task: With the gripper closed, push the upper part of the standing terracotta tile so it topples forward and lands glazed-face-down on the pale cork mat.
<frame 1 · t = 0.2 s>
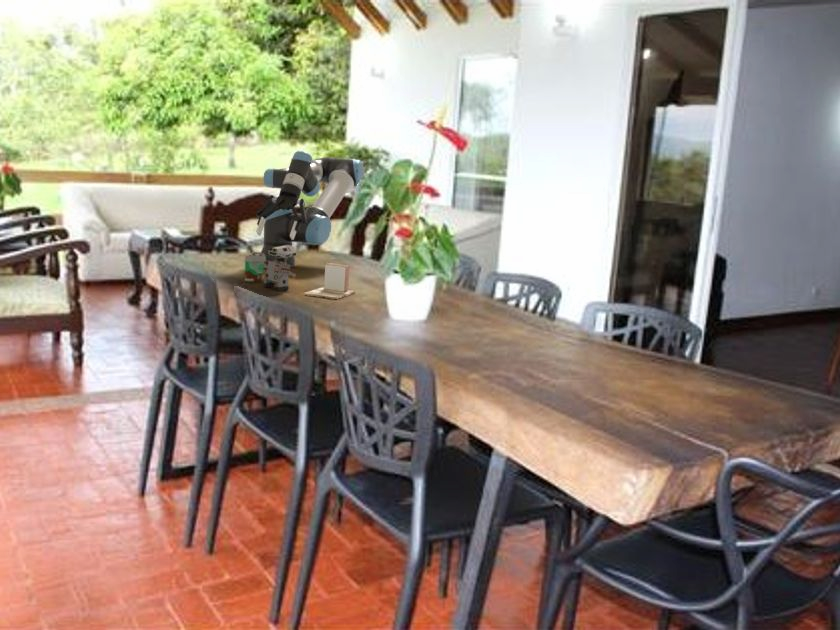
hand: (274, 235, 311), 16 cm above the table, tool tilted 35°, fingers open, 13 cm apart
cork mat: (329, 294, 291), on the table
figurine: (280, 288, 294), on the table
tile: (335, 290, 295), point 1 cm above the table, touching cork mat
food container: (256, 282, 304), on the table
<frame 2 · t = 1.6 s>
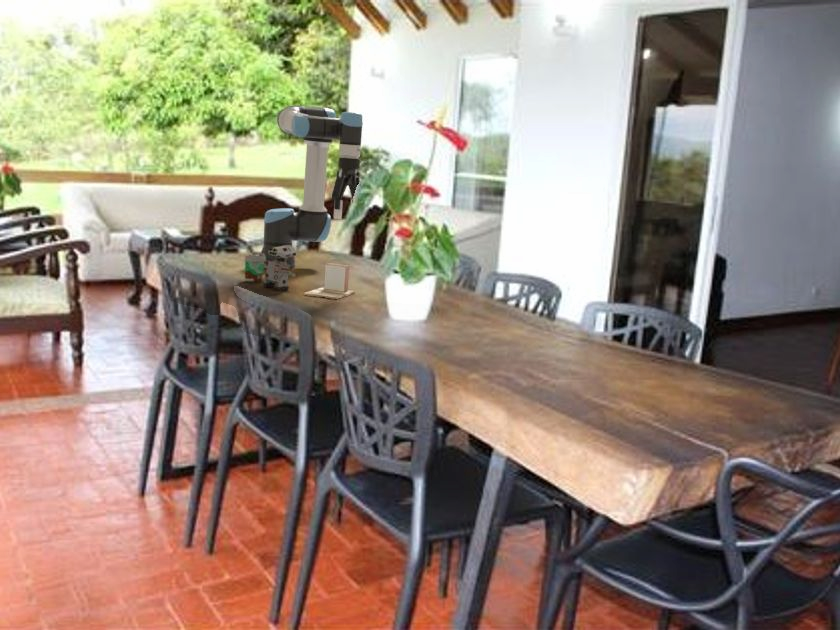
hand: (345, 218, 298), 26 cm above the table, tool pointing down, fingers open, 13 cm apart
nothing on the table moved.
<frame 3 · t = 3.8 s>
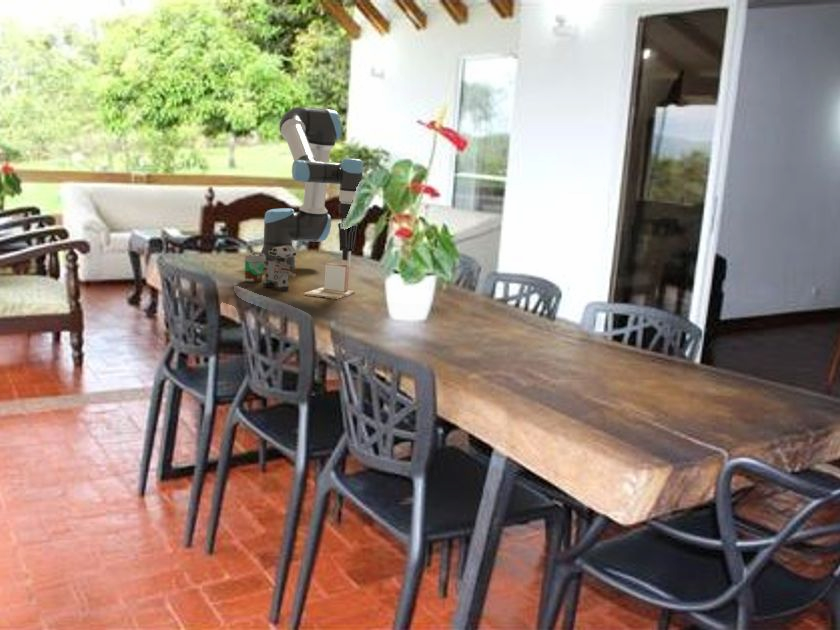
hand: (345, 268, 301), 8 cm above the table, tool pointing down, fingers closed
nothing on the table moved.
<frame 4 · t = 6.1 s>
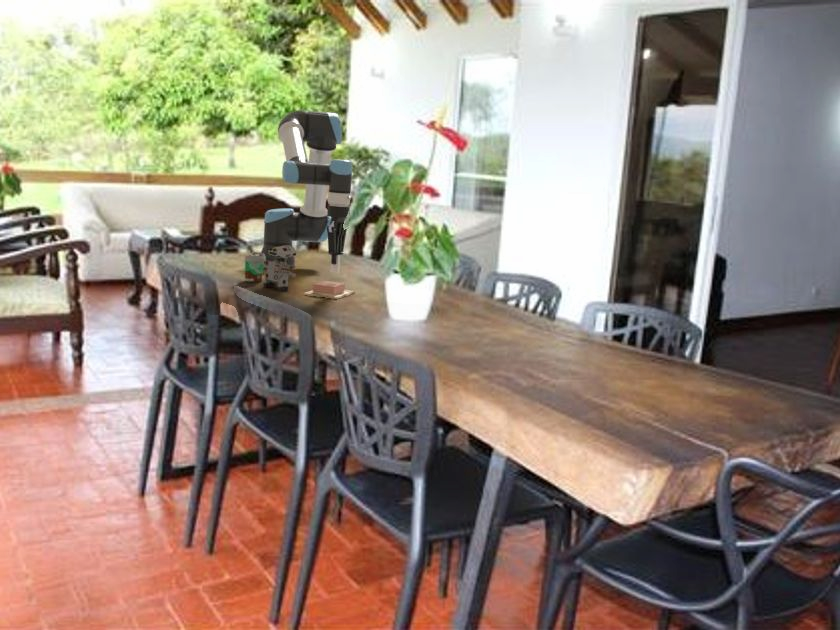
hand: (334, 273, 292), 7 cm above the table, tool pointing down, fingers closed
tile: (334, 286, 294), point 2 cm above the table, tilted 90°, touching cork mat
everything else where it was.
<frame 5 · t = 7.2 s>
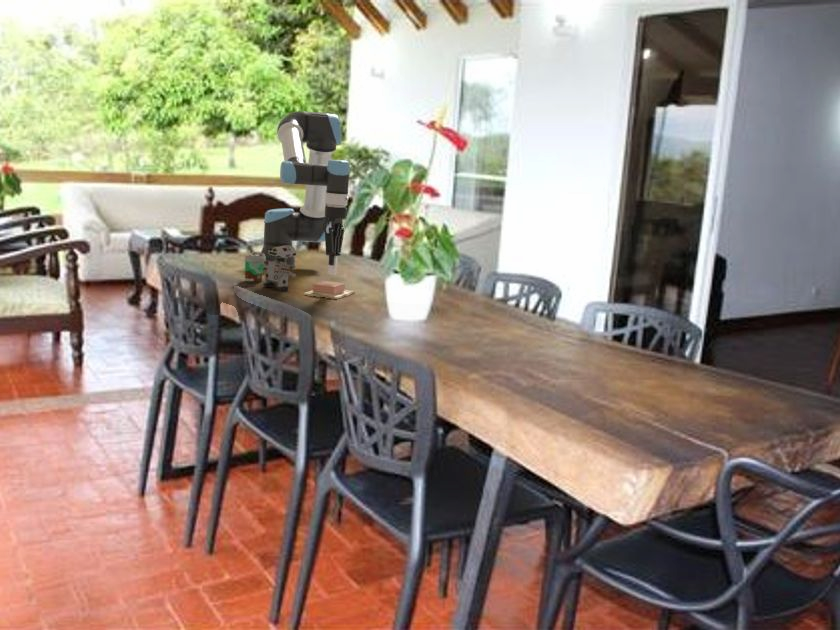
hand: (332, 274, 290), 7 cm above the table, tool pointing down, fingers closed
nothing on the table moved.
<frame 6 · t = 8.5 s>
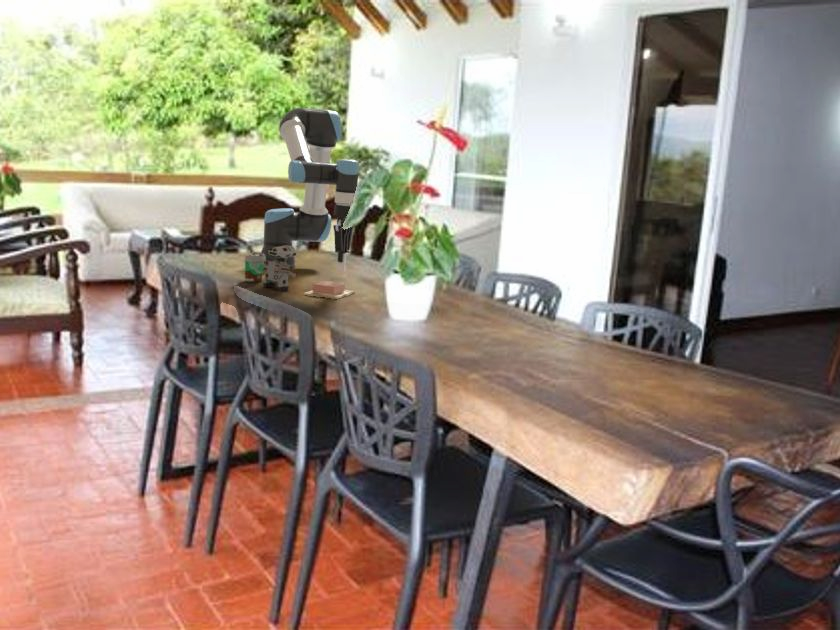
hand: (341, 270, 298), 7 cm above the table, tool pointing down, fingers closed
nothing on the table moved.
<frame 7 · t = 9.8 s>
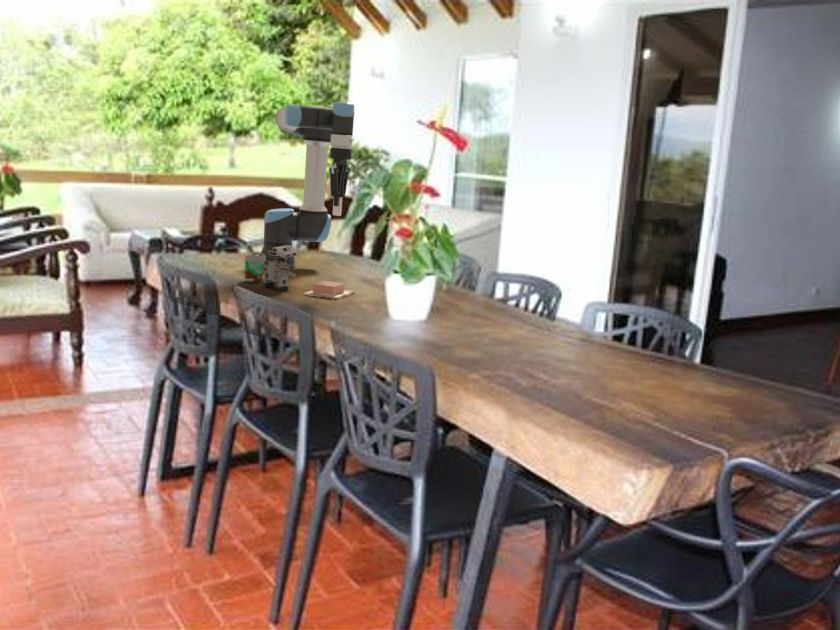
hand: (336, 215, 297), 26 cm above the table, tool pointing down, fingers closed
nothing on the table moved.
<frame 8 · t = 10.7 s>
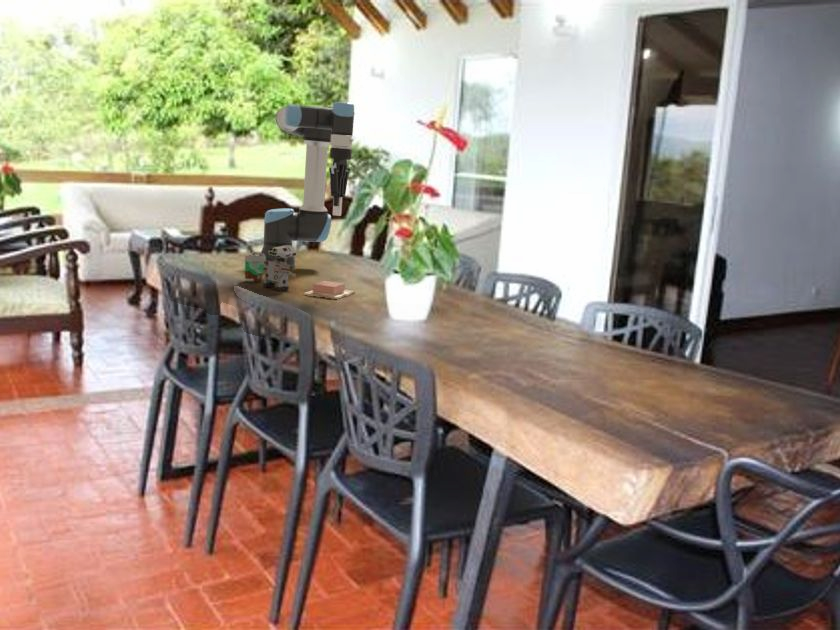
hand: (336, 215, 297), 26 cm above the table, tool pointing down, fingers closed
nothing on the table moved.
at the end: tile tilted 90°; tile inside the target area (4.4 cm from its centre), point 2.4 cm above the table; the gripper is holding nothing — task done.
